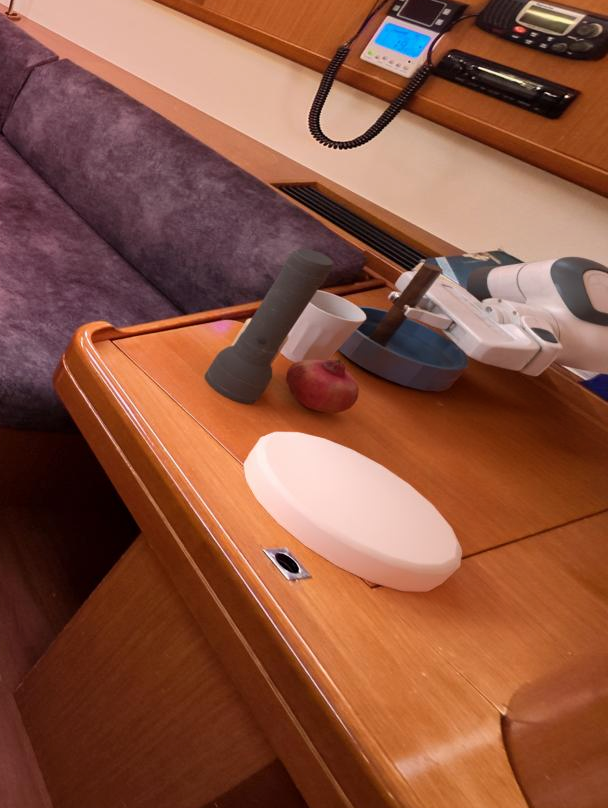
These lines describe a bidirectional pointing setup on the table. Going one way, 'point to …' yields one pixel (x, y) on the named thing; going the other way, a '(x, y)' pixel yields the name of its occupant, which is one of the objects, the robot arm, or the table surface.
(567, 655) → the table surface
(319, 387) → the fruit
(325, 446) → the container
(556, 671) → the table surface
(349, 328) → the cup
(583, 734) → the table surface
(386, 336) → the stick
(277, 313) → the flashlight
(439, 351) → the bowl
